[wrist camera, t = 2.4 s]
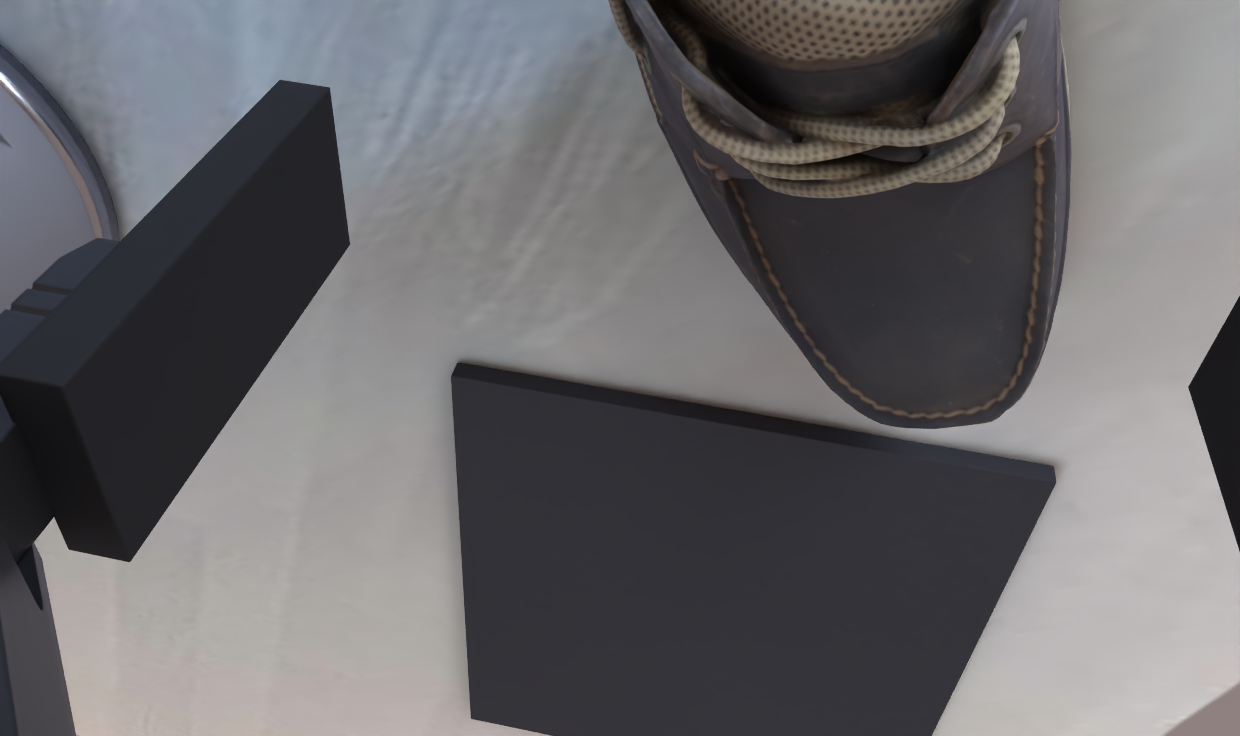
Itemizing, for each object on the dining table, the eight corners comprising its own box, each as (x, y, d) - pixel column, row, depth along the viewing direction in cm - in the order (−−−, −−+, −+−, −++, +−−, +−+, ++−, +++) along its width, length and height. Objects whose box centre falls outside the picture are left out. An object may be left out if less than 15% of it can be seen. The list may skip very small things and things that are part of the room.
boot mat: (475, 705, 56) (470, 719, 55) (457, 361, 40) (450, 376, 39) (896, 792, 54) (896, 807, 53) (1054, 466, 38) (1056, 482, 37)
